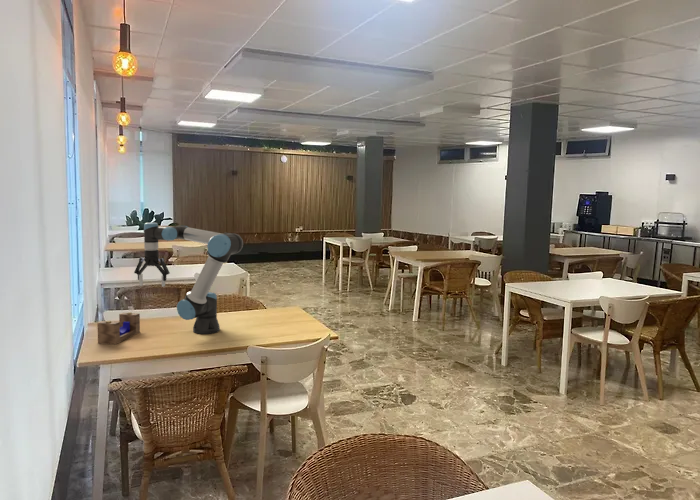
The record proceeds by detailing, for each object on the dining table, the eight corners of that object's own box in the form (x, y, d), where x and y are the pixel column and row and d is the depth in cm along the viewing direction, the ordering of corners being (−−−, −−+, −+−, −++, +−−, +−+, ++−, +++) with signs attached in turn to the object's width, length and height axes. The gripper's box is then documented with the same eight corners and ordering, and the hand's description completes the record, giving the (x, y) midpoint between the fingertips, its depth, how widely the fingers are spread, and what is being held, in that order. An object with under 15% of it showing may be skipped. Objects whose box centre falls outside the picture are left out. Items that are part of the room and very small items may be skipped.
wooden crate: (139, 332, 290) (139, 312, 289) (115, 344, 267) (115, 322, 265) (123, 331, 291) (123, 311, 290) (97, 343, 268) (97, 321, 267)
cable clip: (122, 331, 285) (122, 321, 284) (129, 332, 284) (129, 321, 284) (109, 337, 273) (109, 326, 272) (117, 338, 272) (116, 327, 272)
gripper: (175, 249, 292) (175, 285, 294) (134, 248, 295) (135, 284, 297) (169, 250, 285) (169, 288, 287) (127, 249, 287) (128, 286, 290)
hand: (152, 286), depth 292 cm, fingers open, 13 cm apart
